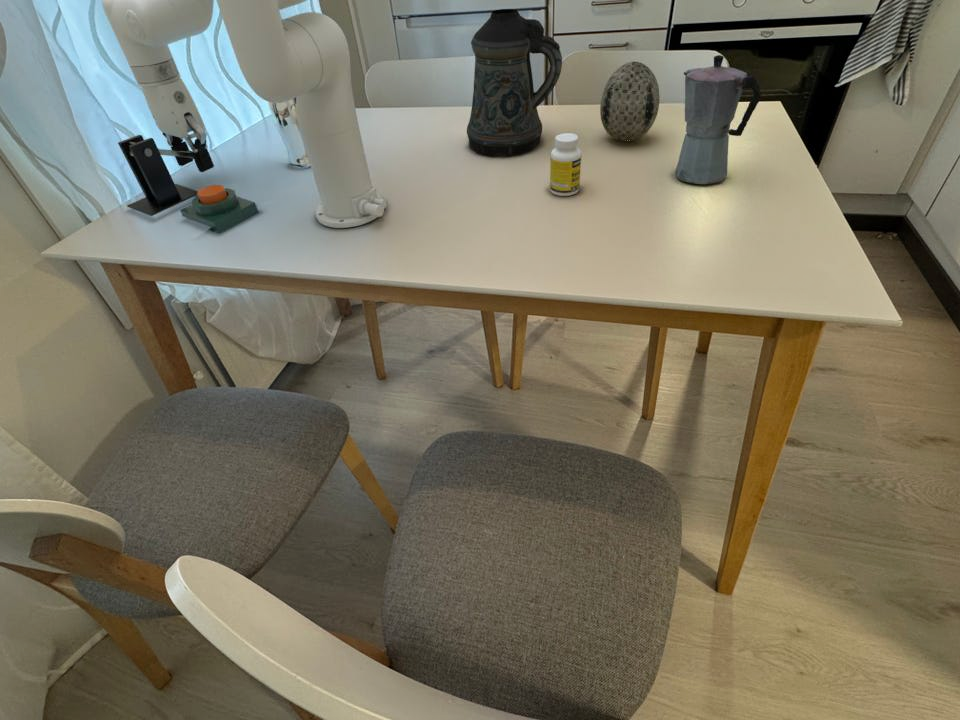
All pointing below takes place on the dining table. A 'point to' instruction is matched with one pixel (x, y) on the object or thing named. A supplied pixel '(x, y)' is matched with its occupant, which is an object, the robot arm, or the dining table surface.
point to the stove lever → (171, 152)
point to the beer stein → (509, 84)
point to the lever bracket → (152, 177)
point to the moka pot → (712, 120)
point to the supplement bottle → (565, 165)
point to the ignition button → (212, 194)
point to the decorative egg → (630, 102)
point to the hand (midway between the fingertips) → (196, 165)
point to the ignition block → (221, 212)
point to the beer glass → (290, 131)
